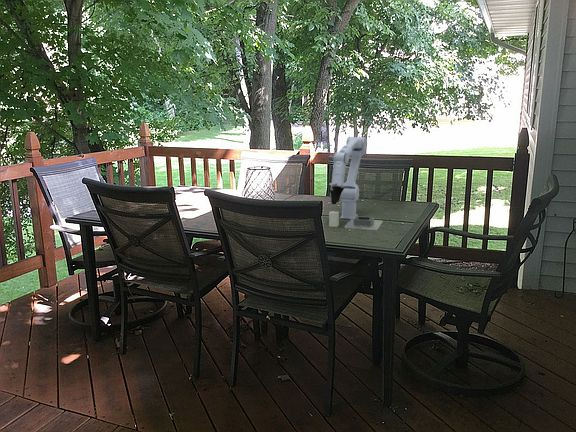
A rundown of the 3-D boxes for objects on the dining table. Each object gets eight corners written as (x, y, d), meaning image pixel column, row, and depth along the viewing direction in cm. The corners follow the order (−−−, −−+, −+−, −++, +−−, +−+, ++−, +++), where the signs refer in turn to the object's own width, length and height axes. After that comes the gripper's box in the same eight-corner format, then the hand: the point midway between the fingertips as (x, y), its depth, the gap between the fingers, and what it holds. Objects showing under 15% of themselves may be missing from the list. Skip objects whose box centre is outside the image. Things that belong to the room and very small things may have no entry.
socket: (351, 220, 262) (351, 214, 262) (382, 222, 257) (382, 215, 257) (344, 228, 248) (344, 221, 247) (377, 230, 243) (377, 223, 242)
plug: (331, 224, 255) (331, 211, 253) (338, 225, 254) (338, 211, 252) (329, 226, 251) (329, 212, 250) (337, 227, 250) (337, 213, 248)
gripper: (328, 177, 257) (325, 203, 256) (332, 171, 243) (328, 199, 241) (342, 179, 258) (338, 206, 256) (347, 174, 243) (343, 201, 242)
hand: (334, 203), depth 249 cm, fingers open, 7 cm apart
